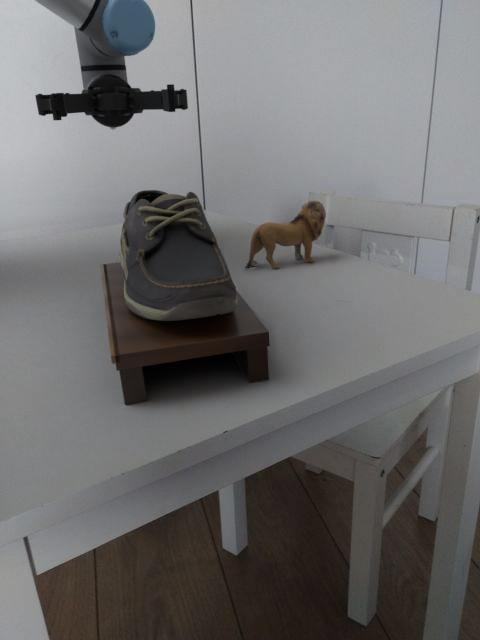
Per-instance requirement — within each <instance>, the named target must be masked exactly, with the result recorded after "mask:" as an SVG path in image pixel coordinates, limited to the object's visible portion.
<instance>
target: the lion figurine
mask: <svg viewBox="0 0 480 640" xmlns="http://www.w3.org/2000/svg"><path fill="white" fill-rule="evenodd" d="M326 218H327V212H326V209H325V206H324V204H323V203H322V202H321V201H318V200H308V201H307V202H304V204H302V205H301V210H300V211H299V212H298V213H297V214H296V216H295V217H294V218H293V219H291V220H290V221H289V222H281V223H280V222H272V221H271V222H269V221H268V222H264V223H261V224H260V225H259V226H258V227H256V228H255V230H254V232H253V234H252V236H251V239H250V246H249V254H248V261H247V263H246V265H245V267H244V269H250V268H251V267H256V266H258V261H256V260H254V259H255V257H256V255H257V254H258V253H259V252H260V251H262V249H264V250H265V260H266V262H267V263H268V264H269V266H270V268H272V269H280V268H281V265H280V264H279V263H277V262H275V260H274V258H273V257H274V253H275V251H276V247H277V245H278V246H281V247H294V258H295V259H296V260H303V259H304V260H305V261H306V263H311V264H312V263H314V262H315V259H314V258H313V257H311V255H312V249H313V242H315V241H317V240H318V239H319V238H320V237H321V236H322V233H323V229H324V226H325V224H326V223H325V222H326ZM302 246H303V248H304V255H303V254H302Z"/></svg>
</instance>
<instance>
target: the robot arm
mask: <svg viewBox="0 0 480 640" xmlns="http://www.w3.org/2000/svg"><path fill="white" fill-rule="evenodd" d="M34 2H36V3H38V4H39V5H41V6H42V7H44V8H45V9H47V10H48V11H50V12H51V13H53V14H54V15H56V16H57V17H59V18H61V19H62V20H64V21H65V22H66V23H68V24H69V25H71V26H72V27H73V29H74V34H75V42H76V47H77V53H78V59H79V60H78V61H79V66H80V74H81V75H80V76H81V80H82V87H83V89H82V90H81V93H69V92H56V93H55V92H54V93H53V92H52V93H50V94H42V93H37V94H35V95H34V96H35V101H36V107H37V112H38V115H39V116H41V117H46V116H47V115H52V120H53V121H62V118H67V117H68V115H69V114H80V113H84V114H85V115H86V116H91V118H93V120H95V121H96V122H97V123H98V124H100V125H102V126H105V127H107V128H110V130H116V129H117V128H119V127H120V128H121V127H123V126H124V125H126V124H128V123H129V122H130V121H131V120H132V118H133V117H134V115H135V114H136V115H137V114H143V113H144V111H150V110H152V111H153V110H154V111H155V110H156V111H157V110H158V111H159V110H160V111H161V110H162V111H163V112H167V113H175V112H176V110H182V111H186V110H188V109H189V104H188V102H189V101H188V92H187V89H184V88H180V89H175V84H173V83H172V84H166V89H164V88H163V89H161V90H154V89H151V90H147V91H146V90H145V91H142V90H141V88H139V87H132V86H131V84H129V82H128V74H127V66H126V57H131V56H135V55H138V54H139V53H141V52H142V51H144V50H146V49H147V48H149V46H150V45H151V43H152V42H153V40H154V37H155V33H156V19H155V16H154V13H153V11H152V8H151V7H150V6H149V4H148V3H147V2H146V1H145V0H34Z"/></svg>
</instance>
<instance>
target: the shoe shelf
mask: <svg viewBox="0 0 480 640" xmlns="http://www.w3.org/2000/svg"><path fill="white" fill-rule="evenodd" d="M100 272H101V281H102V290H103V299H104V300H103V301H104V309H105V318H106V327H107V336H108V344H109V345H108V346H109V353H110V360H111V361H110V362H111V364H112V365H115V369H116V371H118V373H119V378H120V379H119V380H120V384H121V390H122V396H123V402H124V403H123V404H124V405H131V404H136V403H143V402H147V401H148V398H147V397H148V396H147V390H146V383H145V375H144V369H143V367H149V366H154V365H161V364H168V363H173V362H179V361H180V362H181V361H185V360H191V359H199V358H206V357H212V356H217V355H223V354H224V355H225V354H229V353H231V355H232V356H233V358H234V360H235V361H236V363H237V364H238V366H239V368H240V370H241V371H242V374H243V375H244V377H245V379H246V380H247V382H248V383H249V384H253V383H258V382H265V381H269V380H270V367H269V365H270V364H269V347H270V345H271V344H270V343H271V341H270V340H271V339H270V331H269V330H268V328H267V327H266V326H265V324H264V323H263V322H262V321H261V319H260V318H259V316H258V315H257V314H256V313H255V312H254V311H253V309H252V308H251V307H250V305H249V304H248V303H247V301H246V300H245V299H244V297H243V296H242V295H241V294H240V292H239V291H238V290H237V289H236V294H237V295H236V296H237V299H238V301H237V305H236V309H235V310H234V311H232V312H230V313H226V314H222V315H219V314H217V315H215V316H209V317H203V318H195V319H187V320H178V321H156V320H150V319H146V318H143V317H140V316H138V315H136V314H135V313H133V312H132V311H131V310H130V309H129V308H128V307H127V305H126V300H125V297H124V279H125V278H124V272H123V270H122V266H121V263H120V261H119V262H118V261H117V262H111V263H110V262H109V263H101V264H100Z"/></svg>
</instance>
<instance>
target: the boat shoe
mask: <svg viewBox="0 0 480 640" xmlns="http://www.w3.org/2000/svg"><path fill="white" fill-rule="evenodd" d="M123 219H124V221H123V224H122V228H121V235H120V248H119V249H120V250H119V255H118V257H119V262H120V263H121V266H122V270H123V272H124V278H125V279H124V297H125V300H126V305H127V307H128V308H129V309H130V310H131V311H132V312H133V313H135V314H136V315H138V316H140V317H143V318H146V319H150V320H156V321H178V320H187V319H195V318H203V317H209V316H215V315H217V314H219V315H222V314H226V313H230V312H232V311H234V310H235V309H236V305H237V301H238V299H237V296H236V295H237V294H236V290H237V287H236V284H235V283H234V280H233V278H232V275H231V272H230V269H229V267H228V264H227V261H226V259H225V258H224V255H223V253H222V251H221V249H220V246H219V245H218V241H217V237H216V235H215V234H214V232H213V229H212V228H211V226H210V224H209V222H208V220H207V217H206V214H205V212H204V208H203V205H202V204H201V201H200V198H199V196H198V195H197V194H196V193H195V192H192V191H188V192H187V193H186V195H181V194H176V193H168V192H165V191H162V190H158V189H147V190H139V191H138V192H136V193H135V194H134V195H133V196H132V198H131V199H130V201H128V202H127V203H126V204H125V206H124V209H123Z"/></svg>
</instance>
